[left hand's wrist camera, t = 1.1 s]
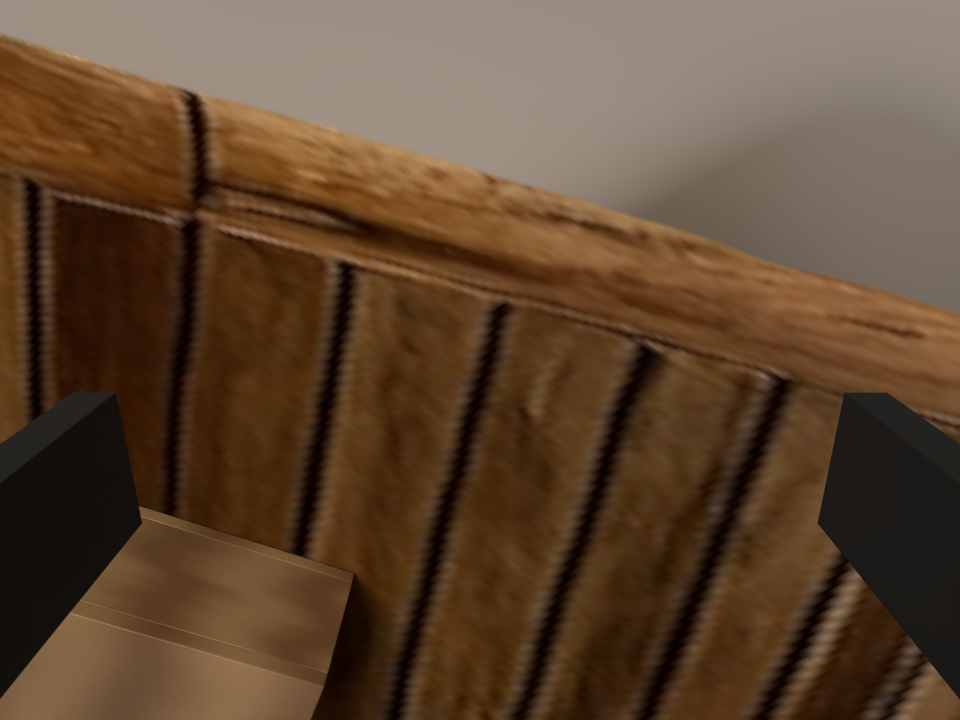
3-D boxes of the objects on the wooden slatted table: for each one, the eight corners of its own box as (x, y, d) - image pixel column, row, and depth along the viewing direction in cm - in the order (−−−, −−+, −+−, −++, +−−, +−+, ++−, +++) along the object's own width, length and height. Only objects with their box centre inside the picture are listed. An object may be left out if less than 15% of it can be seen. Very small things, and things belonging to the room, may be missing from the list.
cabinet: (26, 603, 45) (-81, 722, 37) (50, 477, 42) (-62, 575, 33) (310, 685, 48) (272, 814, 39) (354, 573, 44) (324, 687, 36)
